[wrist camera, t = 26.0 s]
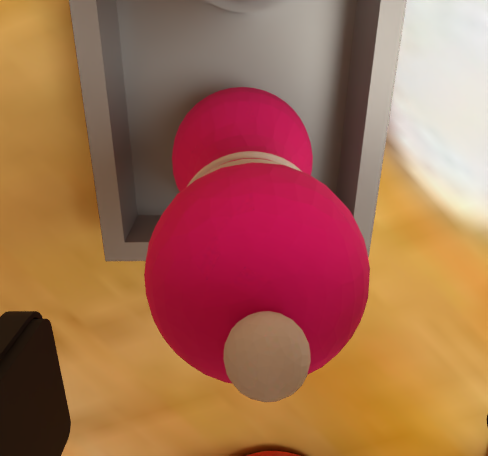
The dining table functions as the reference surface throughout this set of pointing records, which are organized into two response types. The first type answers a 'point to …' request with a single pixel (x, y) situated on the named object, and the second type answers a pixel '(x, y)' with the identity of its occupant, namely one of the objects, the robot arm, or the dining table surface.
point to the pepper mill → (253, 250)
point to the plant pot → (272, 453)
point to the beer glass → (250, 5)
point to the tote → (223, 77)
